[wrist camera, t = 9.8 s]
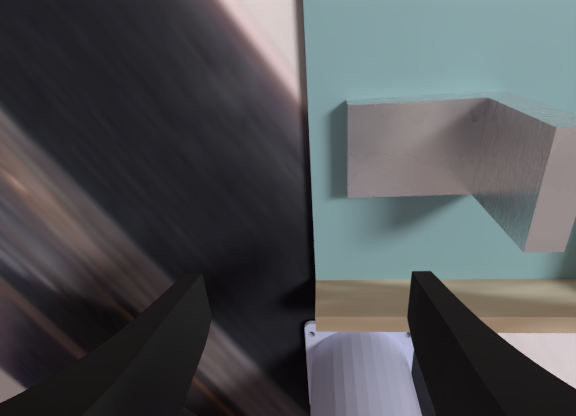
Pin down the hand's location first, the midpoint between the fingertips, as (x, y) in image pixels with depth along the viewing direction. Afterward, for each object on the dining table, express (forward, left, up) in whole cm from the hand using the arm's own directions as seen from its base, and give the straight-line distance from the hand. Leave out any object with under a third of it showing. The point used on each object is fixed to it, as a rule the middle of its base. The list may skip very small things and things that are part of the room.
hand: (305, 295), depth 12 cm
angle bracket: (+2, -6, -10) cm, 12 cm away
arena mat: (+1, -9, -10) cm, 13 cm away
